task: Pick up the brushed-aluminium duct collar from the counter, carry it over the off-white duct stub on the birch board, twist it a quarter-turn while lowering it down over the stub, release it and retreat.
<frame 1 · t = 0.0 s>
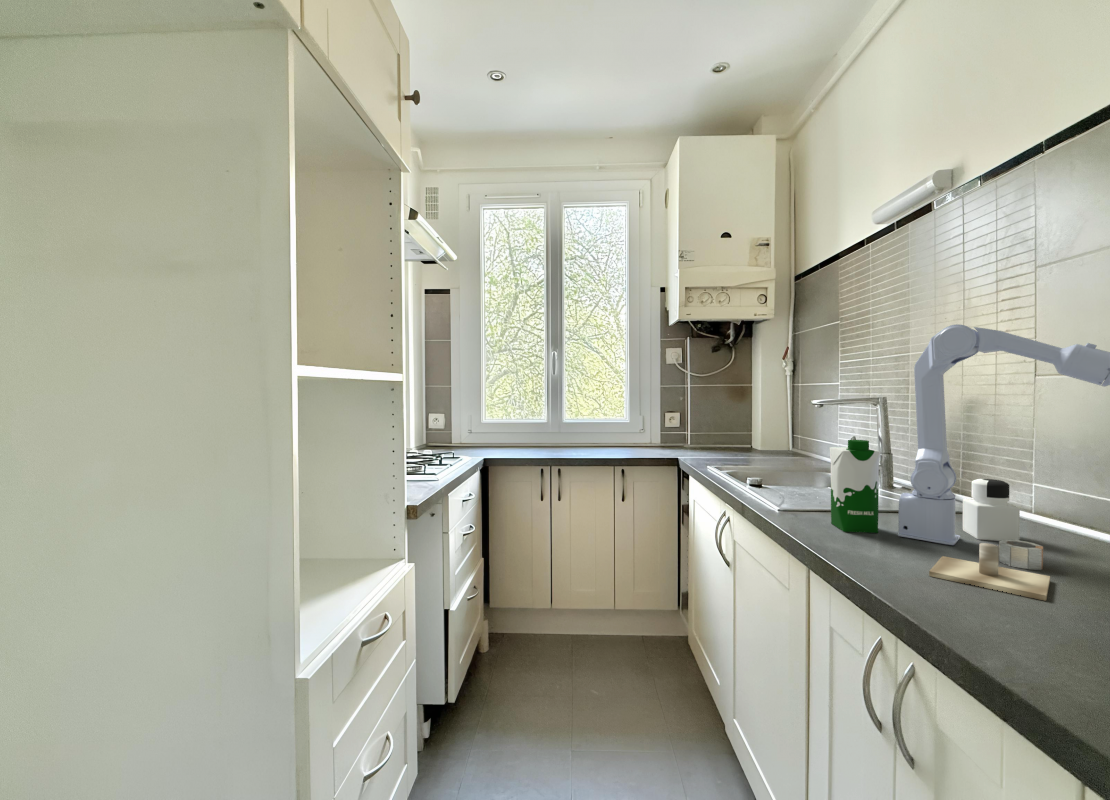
collar: (1020, 563, 89), on the countertop
milk carton: (853, 529, 113), on the countertop
duct board: (988, 578, 83), on the countertop
medicine bottle: (989, 537, 106), on the countertop
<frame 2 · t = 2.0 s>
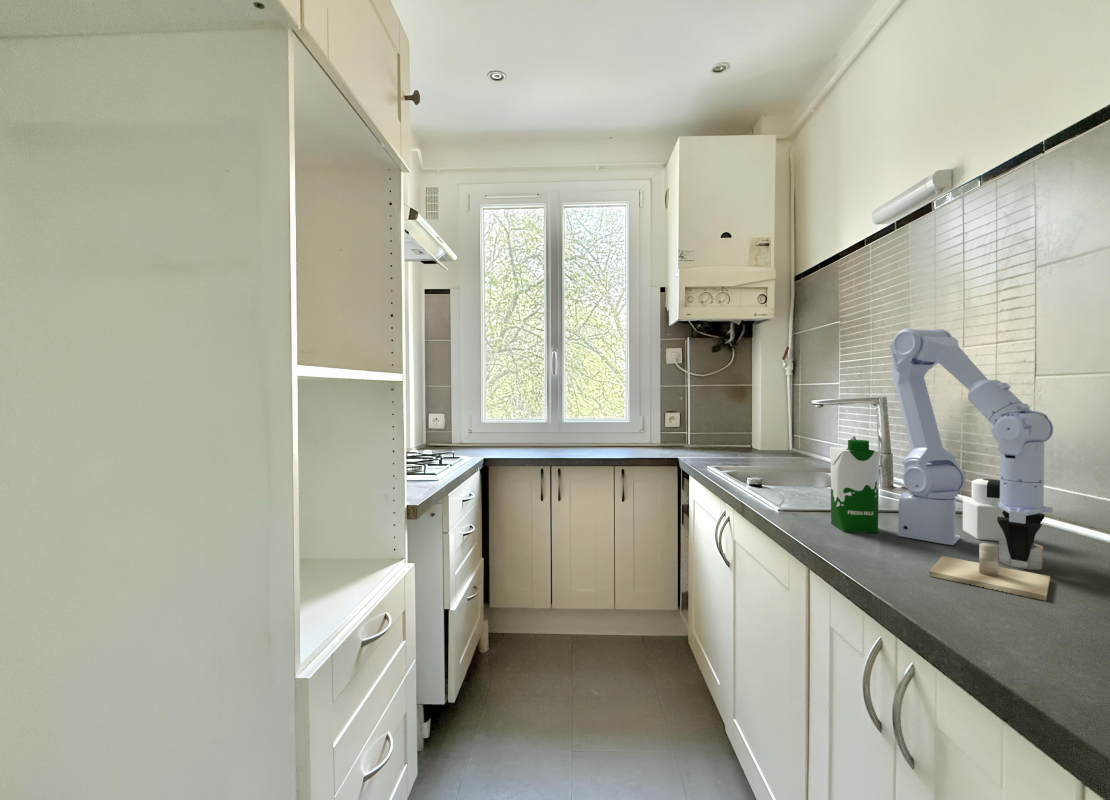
hand: (1020, 556, 89), 1 cm above the countertop, fingers closed on collar, 6 cm apart
collar: (1020, 563, 89), on the countertop, touching gripper
everything else where it was.
when the fingers open (4 cm above the countertop, at t = 6.2 s): collar drops 1 cm, resting on duct board.
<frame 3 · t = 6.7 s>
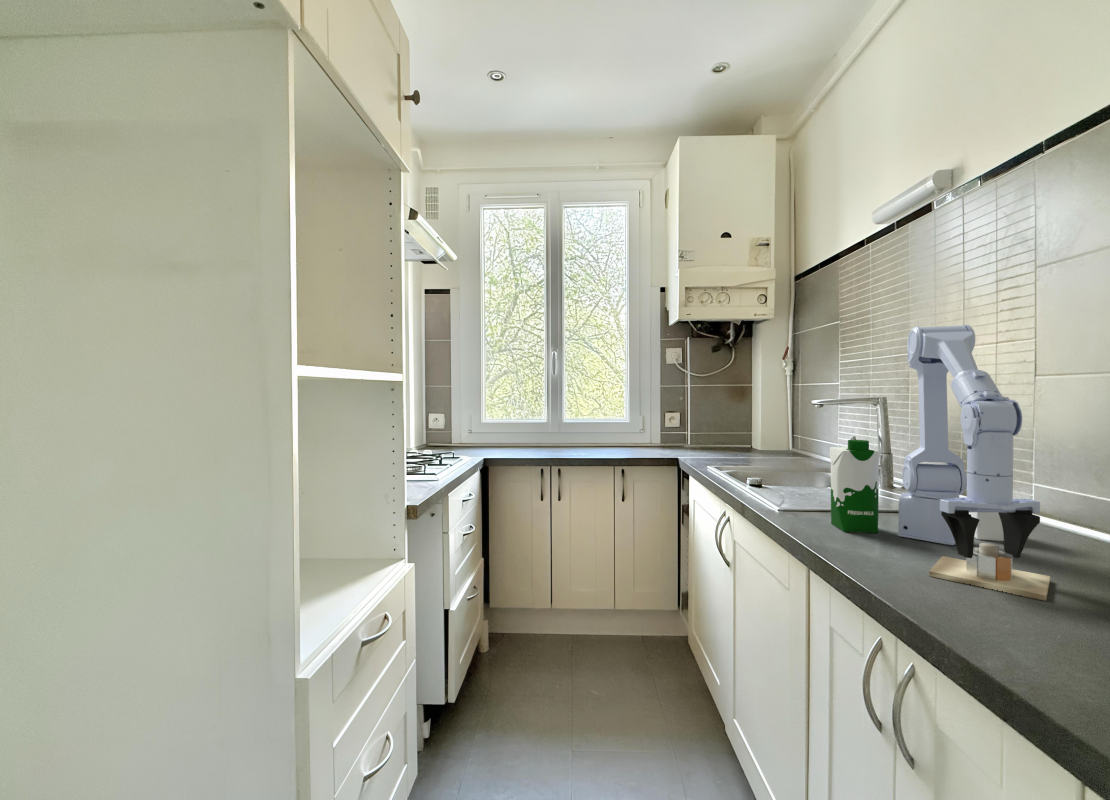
hand: (988, 556, 83), 4 cm above the countertop, fingers open, 7 cm apart
collar: (989, 573, 83), point 1 cm above the countertop, touching duct board
everything else where it was.
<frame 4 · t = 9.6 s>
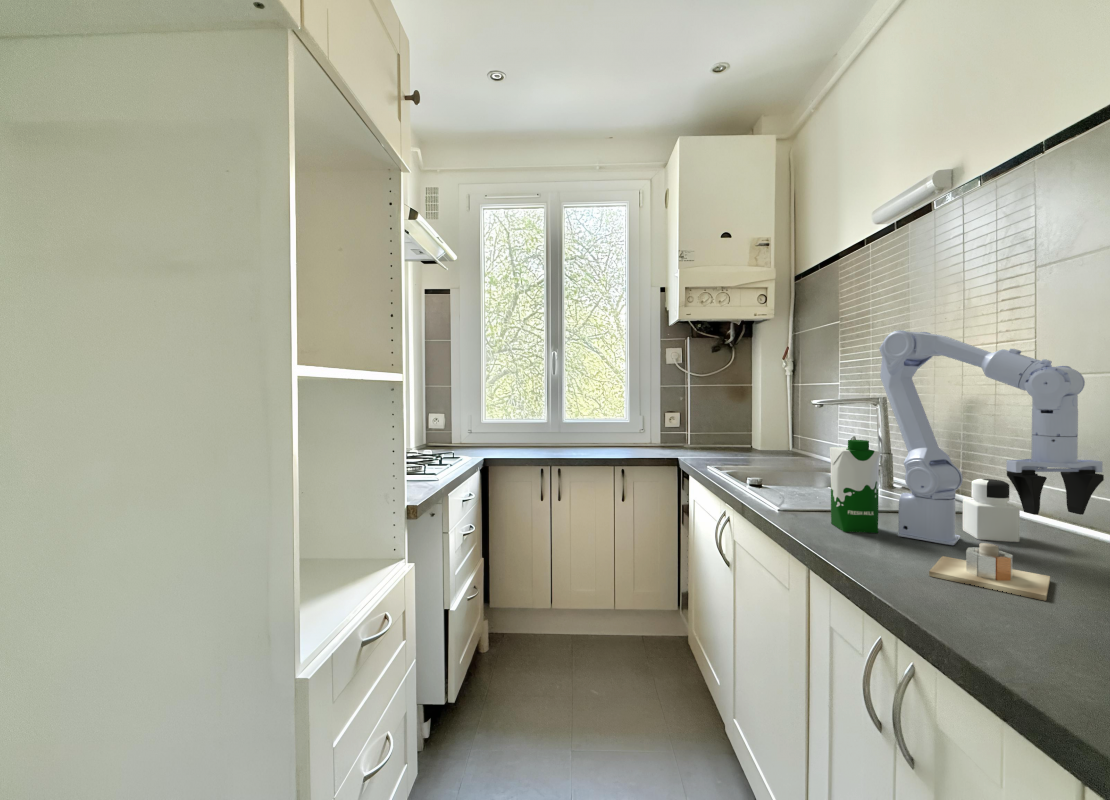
hand: (1053, 513, 88), 9 cm above the countertop, fingers open, 7 cm apart
nothing on the countertop moved.
at the end: collar 0.1 cm off-centre on the duct board, point 0.8 cm above the duct board's base; the gripper is holding nothing; collar tilted 0° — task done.
